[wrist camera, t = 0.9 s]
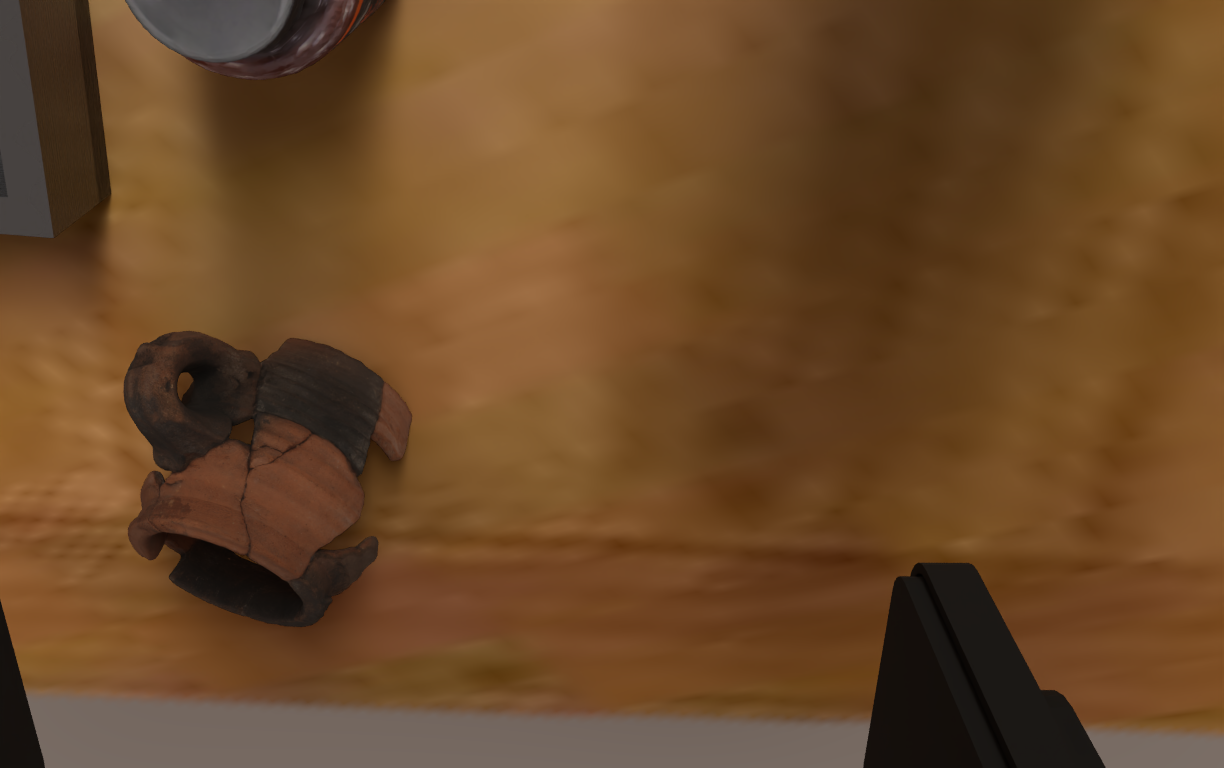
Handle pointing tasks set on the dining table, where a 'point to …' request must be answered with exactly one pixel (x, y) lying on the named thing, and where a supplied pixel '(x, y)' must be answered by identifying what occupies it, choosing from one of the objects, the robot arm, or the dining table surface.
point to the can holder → (48, 118)
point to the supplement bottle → (252, 31)
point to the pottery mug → (259, 469)
